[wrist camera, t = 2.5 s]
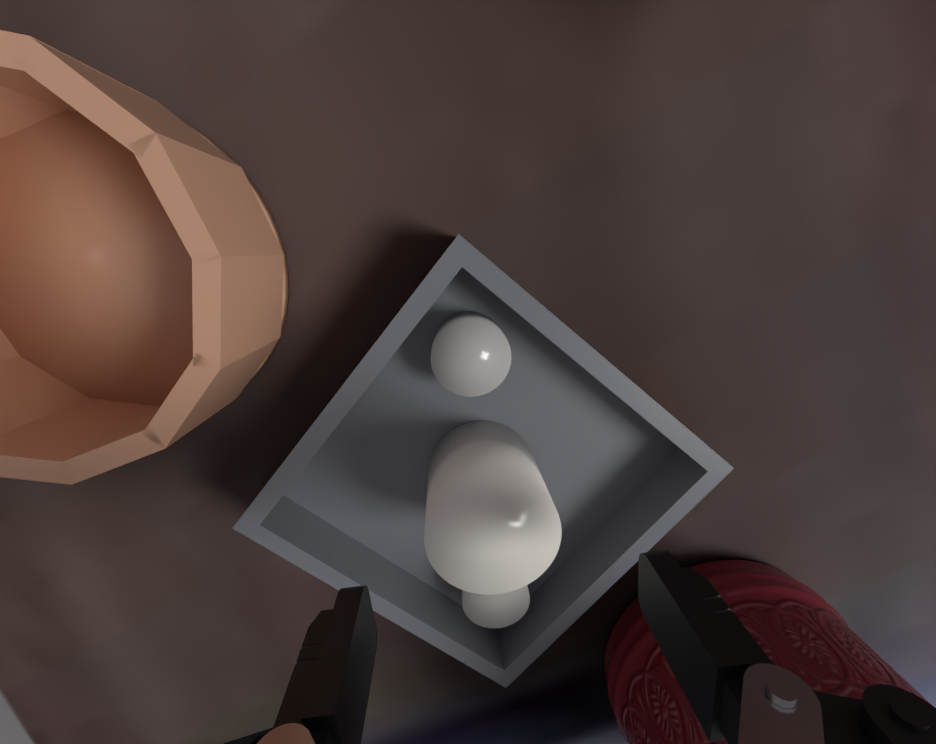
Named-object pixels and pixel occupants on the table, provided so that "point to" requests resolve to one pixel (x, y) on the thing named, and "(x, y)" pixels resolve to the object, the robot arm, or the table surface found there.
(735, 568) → the canister
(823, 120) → the table surface
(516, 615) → the small pebble
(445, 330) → the small pebble
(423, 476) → the parts tray
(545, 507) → the pale stone
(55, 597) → the table surface
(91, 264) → the terracotta bowl
